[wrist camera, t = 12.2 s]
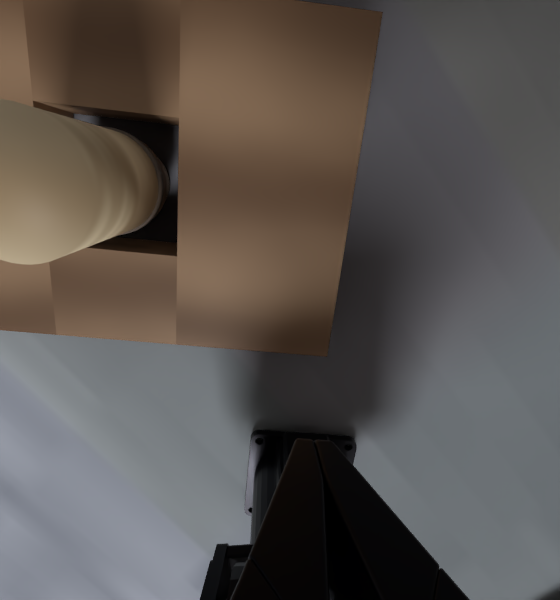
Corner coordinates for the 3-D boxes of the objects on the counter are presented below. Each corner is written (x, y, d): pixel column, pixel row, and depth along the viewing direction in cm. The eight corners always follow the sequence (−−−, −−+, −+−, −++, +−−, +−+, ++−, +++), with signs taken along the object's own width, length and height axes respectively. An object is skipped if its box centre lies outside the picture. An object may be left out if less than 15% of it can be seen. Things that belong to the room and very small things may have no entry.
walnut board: (319, 331, 21) (327, 356, 18) (-53, 300, 19) (-108, 321, 17) (362, 41, 16) (382, 12, 13) (-117, -23, 15) (-208, -69, 12)
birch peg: (178, 229, 19) (100, 274, 10) (95, 220, 18) (-59, 260, 10) (180, 140, 17) (90, 105, 9) (89, 130, 17) (-93, 84, 8)
